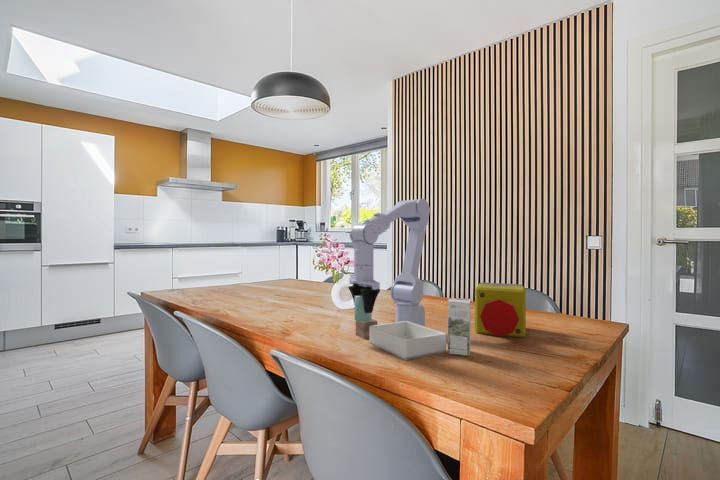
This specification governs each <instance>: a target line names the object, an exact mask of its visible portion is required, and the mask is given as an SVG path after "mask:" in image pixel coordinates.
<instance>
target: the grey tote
mask: <svg viewBox="0 0 720 480" xmlns="http://www.w3.org/2000/svg"><path fill="white" fill-rule="evenodd" d="M368 339H369V344H371V345H373V346H375V347H377V348H379V349H381V350H383V351H385V352H387V353H389V354H392V355H393V356H396V357H398V358H400V359H402V360H404V361H409V360H414V359H420V358H425V357H429V356H434V355H438V354H443V353H447V333H445V332H441V331H439V330H437V329H436V330H435V329H432V328H430V327H427V326H425V327H424V326H421V325H418V324H415V323H412V322H409V321H402V322H396V321H395V322H390V323H389V322H388V323H382V324H377V325H373V326H369V338H368Z"/></svg>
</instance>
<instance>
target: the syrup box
mask: <svg viewBox="0 0 720 480" xmlns="http://www.w3.org/2000/svg"><path fill="white" fill-rule="evenodd" d="M471 300H472V299H471V298H458V297H456V298H455V297H449V298H448V301H447V354H448V355H450V356H451V355H452V356H459V357H460V356H462V357H471V356H470V355H471V316H472V315H471V312H472V311H471V309H472V306H471V305H472V304H471V303H472V301H471Z"/></svg>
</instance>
